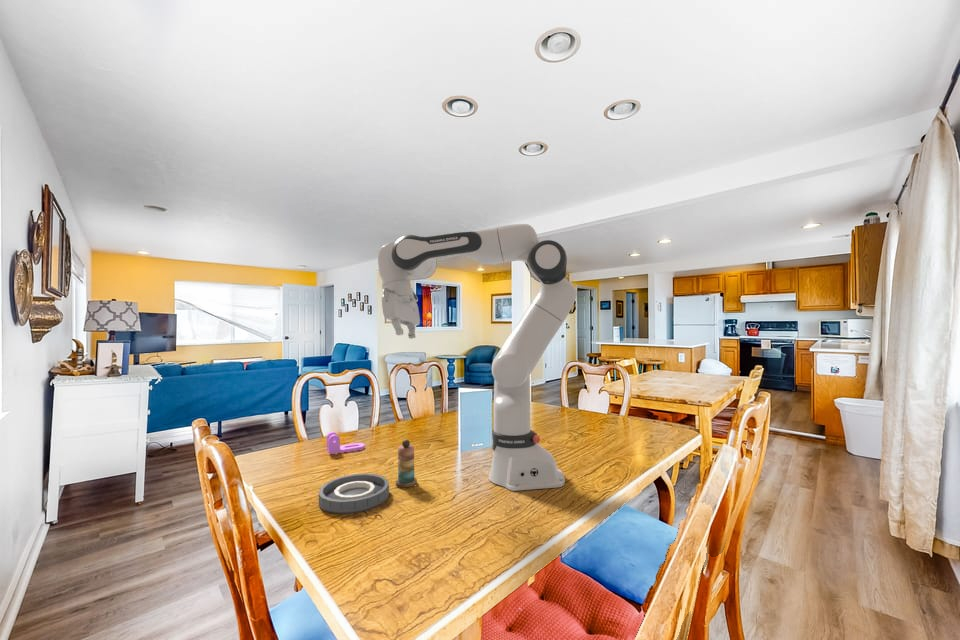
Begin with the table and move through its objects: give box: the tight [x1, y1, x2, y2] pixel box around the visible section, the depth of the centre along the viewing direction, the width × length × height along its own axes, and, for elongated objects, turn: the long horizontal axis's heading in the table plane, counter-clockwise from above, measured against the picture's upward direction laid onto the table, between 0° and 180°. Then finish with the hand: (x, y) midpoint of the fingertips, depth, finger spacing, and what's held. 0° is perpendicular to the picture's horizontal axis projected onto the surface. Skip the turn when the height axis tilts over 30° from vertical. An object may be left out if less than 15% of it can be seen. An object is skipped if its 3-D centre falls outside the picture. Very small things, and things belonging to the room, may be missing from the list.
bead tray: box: [318, 473, 390, 515], centre depth 106 cm, size 18×18×3 cm
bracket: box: [326, 431, 366, 455], centre depth 146 cm, size 13×6×7 cm, turn 119°
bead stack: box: [395, 439, 418, 489], centre depth 115 cm, size 6×6×13 cm
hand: (406, 336), depth 120 cm, fingers open, 8 cm apart
